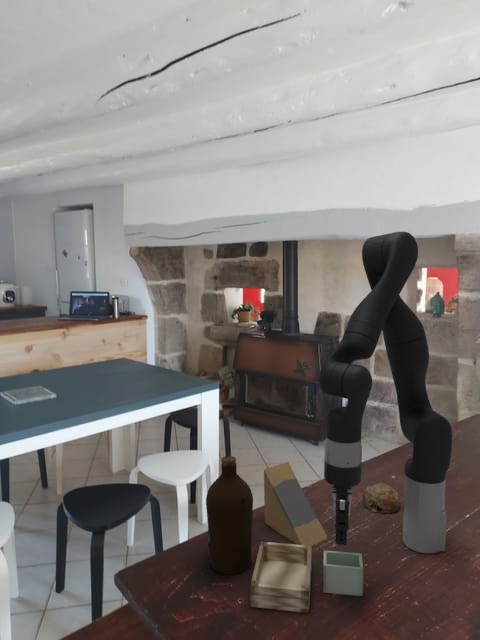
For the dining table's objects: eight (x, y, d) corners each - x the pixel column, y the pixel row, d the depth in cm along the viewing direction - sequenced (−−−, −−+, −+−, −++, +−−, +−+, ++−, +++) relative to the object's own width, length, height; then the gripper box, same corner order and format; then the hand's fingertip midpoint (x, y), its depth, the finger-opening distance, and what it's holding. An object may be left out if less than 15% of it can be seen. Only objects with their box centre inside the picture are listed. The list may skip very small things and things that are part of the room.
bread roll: (360, 519, 139) (359, 500, 135) (365, 490, 147) (364, 471, 143) (397, 526, 136) (397, 506, 132) (400, 495, 144) (400, 476, 140)
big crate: (311, 564, 113) (311, 545, 113) (308, 613, 98) (309, 591, 97) (260, 560, 115) (260, 541, 115) (250, 606, 100) (250, 585, 99)
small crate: (361, 579, 108) (361, 553, 107) (362, 596, 102) (363, 569, 102) (323, 575, 109) (323, 550, 108) (323, 592, 104) (323, 565, 103)
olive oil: (260, 554, 118) (259, 452, 114) (243, 581, 108) (242, 471, 105) (218, 545, 121) (216, 446, 118) (199, 570, 112) (196, 464, 108)
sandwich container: (303, 550, 119) (303, 490, 117) (263, 523, 131) (263, 468, 130) (329, 538, 124) (329, 480, 122) (288, 513, 136) (288, 460, 135)
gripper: (363, 474, 95) (360, 554, 97) (360, 446, 109) (357, 517, 111) (323, 471, 96) (321, 549, 98) (325, 444, 110) (323, 513, 112)
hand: (340, 532), depth 105 cm, fingers open, 8 cm apart
